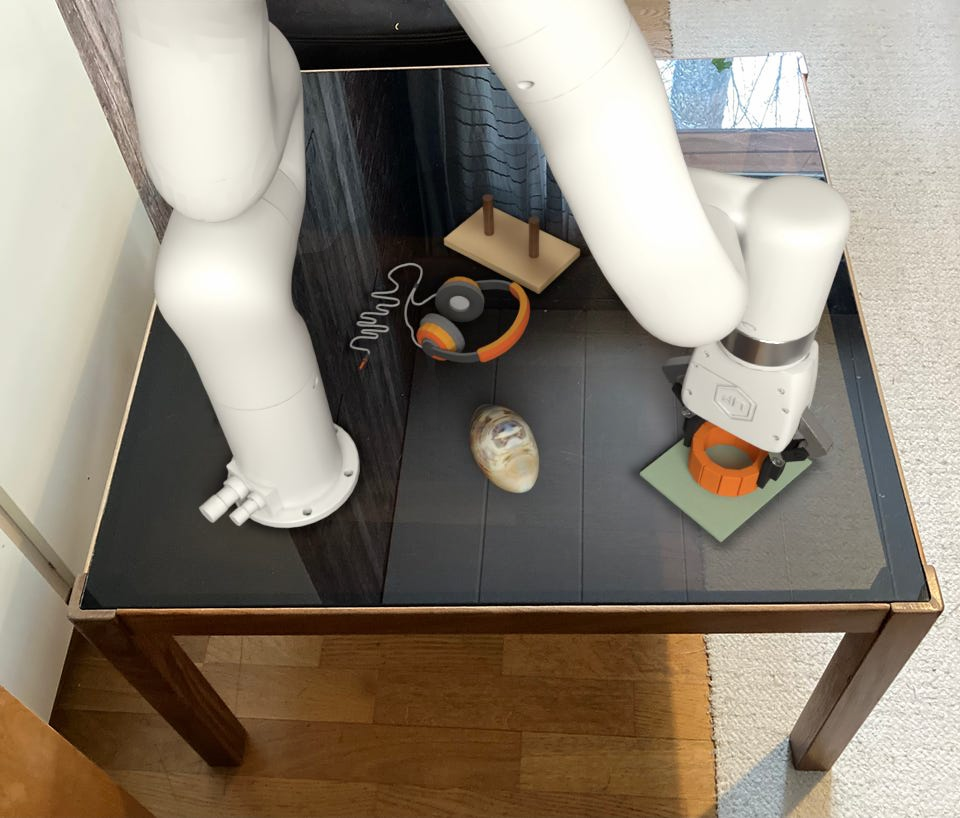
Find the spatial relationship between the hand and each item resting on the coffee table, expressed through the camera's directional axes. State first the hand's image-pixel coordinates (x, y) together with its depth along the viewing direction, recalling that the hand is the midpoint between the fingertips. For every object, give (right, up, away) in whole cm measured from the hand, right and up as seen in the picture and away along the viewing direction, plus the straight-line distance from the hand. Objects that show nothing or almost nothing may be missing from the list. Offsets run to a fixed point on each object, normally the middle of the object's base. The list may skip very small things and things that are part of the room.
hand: (730, 456), depth 87 cm
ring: (0, -1, +1) cm, 1 cm away
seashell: (-21, -2, +3) cm, 21 cm away
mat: (0, -1, +2) cm, 2 cm away
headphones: (-28, +13, +15) cm, 34 cm away
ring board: (-20, +23, +22) cm, 38 cm away
